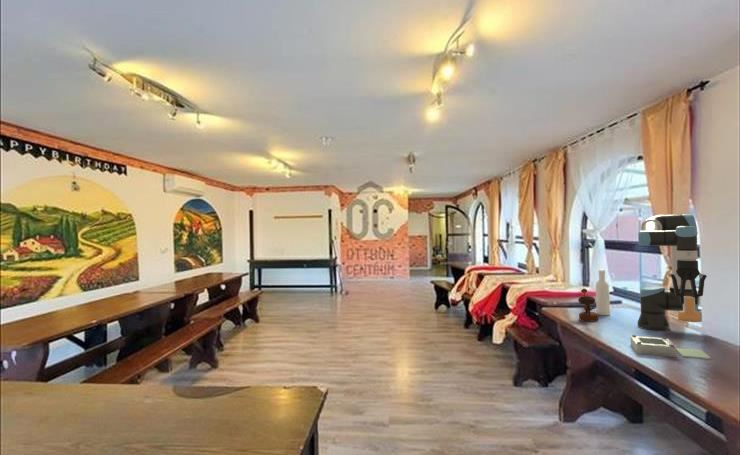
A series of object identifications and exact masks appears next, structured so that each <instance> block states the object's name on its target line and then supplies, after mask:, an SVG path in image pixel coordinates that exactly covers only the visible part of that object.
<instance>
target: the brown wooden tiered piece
mask: <svg viewBox="0 0 740 455" xmlns="http://www.w3.org/2000/svg"><path fill="white" fill-rule="evenodd" d="M580 292H581V293H582V294H583V296H579V297H578V303H579V304H581V305H584V307H583V310H584V311H581V312H580V313H578V317H579V318H578V319H579V320H580V319H581V320H580V321H582V320H584V321H583V322H596V321H599V315H598V314H597V312H593V311H592V310H596V308H595V307H594V306H593V307H590V305H593V304H595V303H596V297H594V296H590V295H586V293H588V289H586V287H585V288H582V289H581V290H580Z"/></svg>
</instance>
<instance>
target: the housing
mask: <svg viewBox="0 0 740 455" xmlns="http://www.w3.org/2000/svg"><path fill="white" fill-rule="evenodd" d="M629 336H630V337H629V338H630V346H631V347H632V349H633V351H635V353H636V355H648V356H658V357H669V358H677V357H678V356H677V353H678V352H677V351H676V348H677V346H676V345H674V343H673V342H672V341H671V340H670V339H669V338H667V337H665V336H662V337H656V336H655V337H654V336H653V337H652V336H638V335H636V334H632V335H629Z"/></svg>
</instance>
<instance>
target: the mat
mask: <svg viewBox="0 0 740 455" xmlns="http://www.w3.org/2000/svg"><path fill="white" fill-rule="evenodd" d="M676 351H677V353H678V354H679V355H680V356H681V357H682V358H691V359H700V360H701V359H703V360H712V357H710V356H709V355H708V354H707V353H706V352H705V351H703V350H702V349H692V348H691V349H690V348H679V347H676Z"/></svg>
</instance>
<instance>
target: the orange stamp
mask: <svg viewBox="0 0 740 455" xmlns="http://www.w3.org/2000/svg"><path fill="white" fill-rule="evenodd" d="M685 297H686V308H687V312H685V311H677V320H679V321H682V322H687V323H700V322H701V321H702V320H701V317H702V316H701V315H702V314H701V312H699V311H696V312H694V298H692V297H690V296H685Z"/></svg>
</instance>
